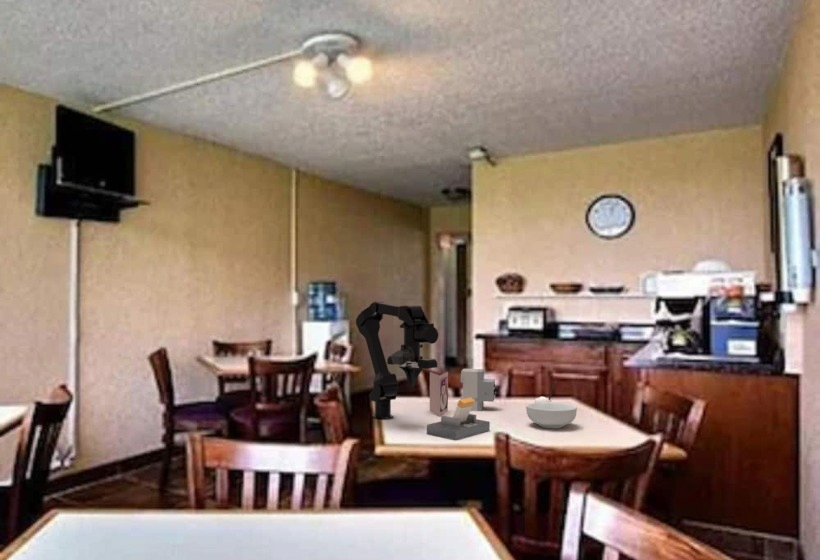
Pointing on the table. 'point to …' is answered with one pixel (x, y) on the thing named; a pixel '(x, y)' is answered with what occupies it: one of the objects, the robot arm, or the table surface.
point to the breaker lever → (463, 409)
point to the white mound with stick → (544, 399)
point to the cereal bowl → (551, 414)
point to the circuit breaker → (477, 387)
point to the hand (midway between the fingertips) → (411, 386)
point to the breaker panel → (458, 427)
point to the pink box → (438, 393)
